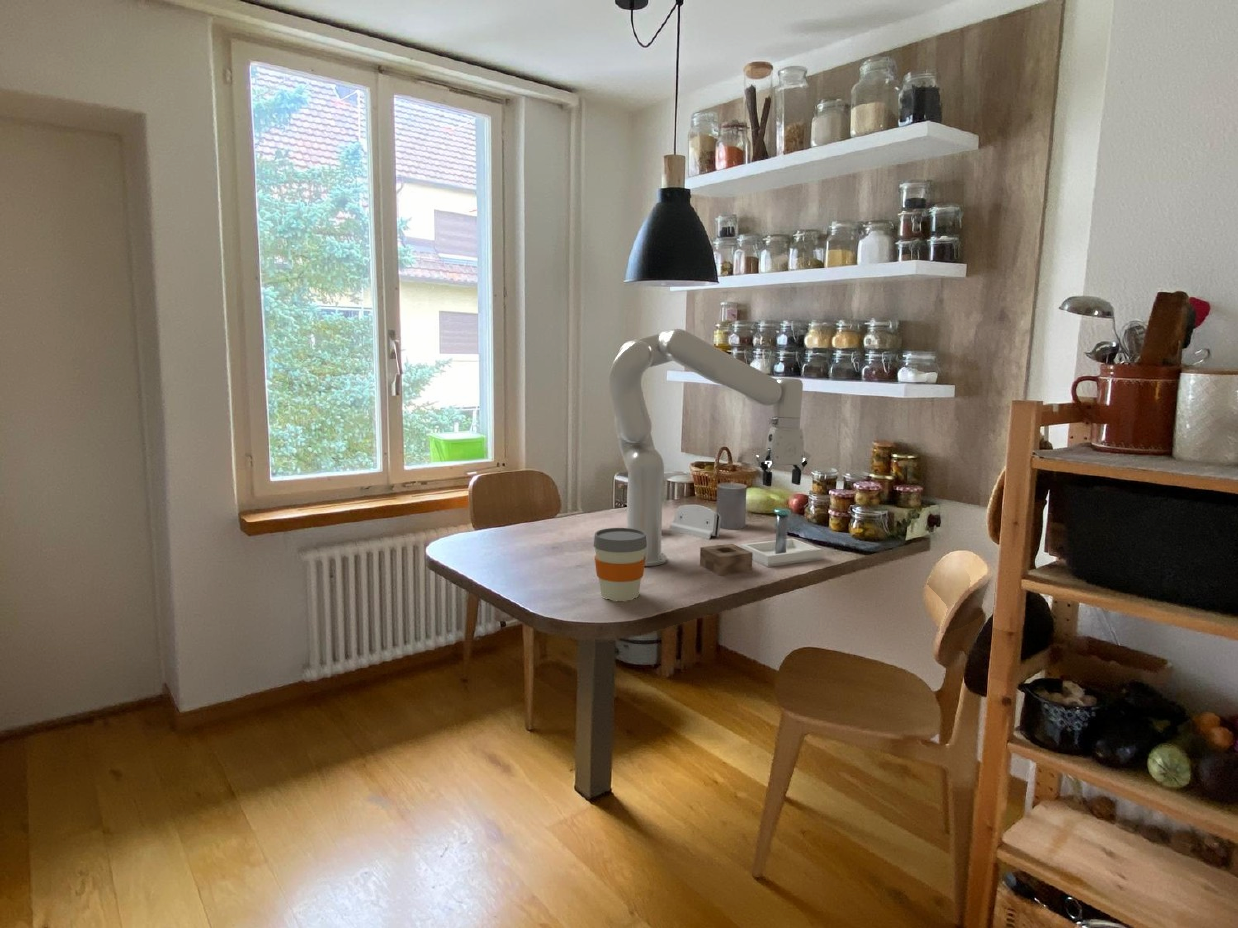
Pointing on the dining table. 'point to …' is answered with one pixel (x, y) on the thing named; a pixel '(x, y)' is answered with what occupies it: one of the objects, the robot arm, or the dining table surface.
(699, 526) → the hinge
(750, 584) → the dining table surface
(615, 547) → the reusable coffee cup
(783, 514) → the steel pin
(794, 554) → the tray
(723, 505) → the pillar candle
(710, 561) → the socket block
